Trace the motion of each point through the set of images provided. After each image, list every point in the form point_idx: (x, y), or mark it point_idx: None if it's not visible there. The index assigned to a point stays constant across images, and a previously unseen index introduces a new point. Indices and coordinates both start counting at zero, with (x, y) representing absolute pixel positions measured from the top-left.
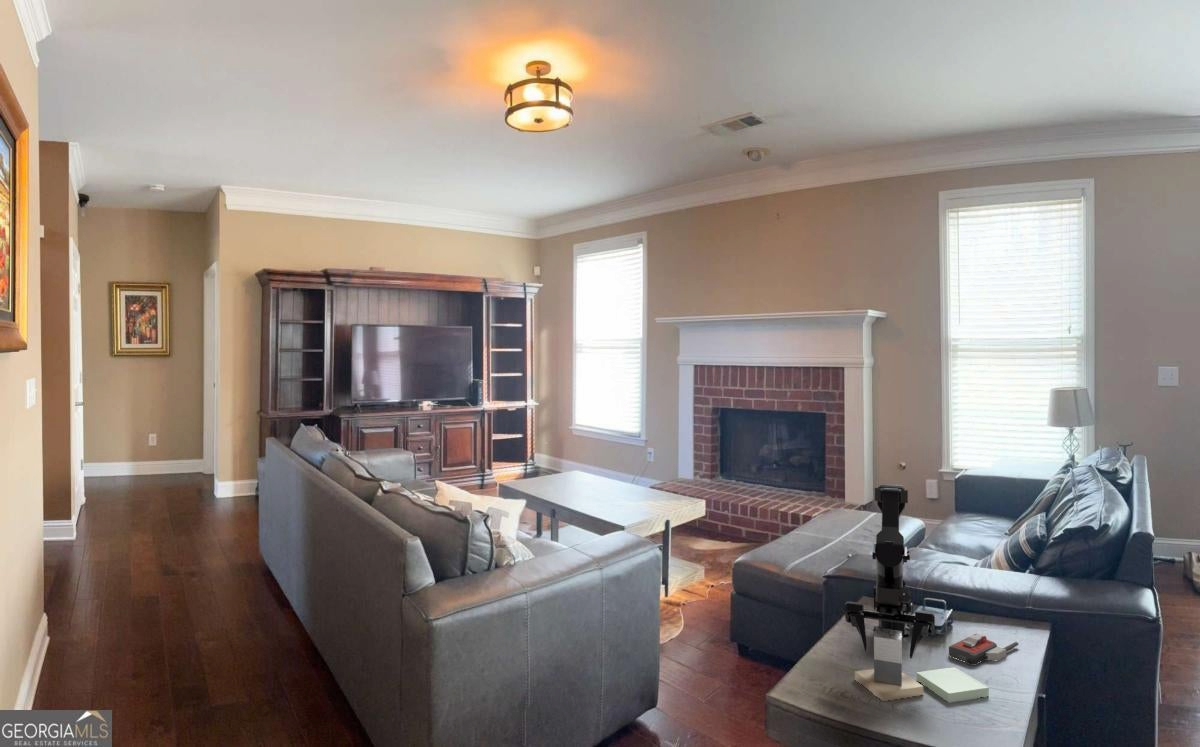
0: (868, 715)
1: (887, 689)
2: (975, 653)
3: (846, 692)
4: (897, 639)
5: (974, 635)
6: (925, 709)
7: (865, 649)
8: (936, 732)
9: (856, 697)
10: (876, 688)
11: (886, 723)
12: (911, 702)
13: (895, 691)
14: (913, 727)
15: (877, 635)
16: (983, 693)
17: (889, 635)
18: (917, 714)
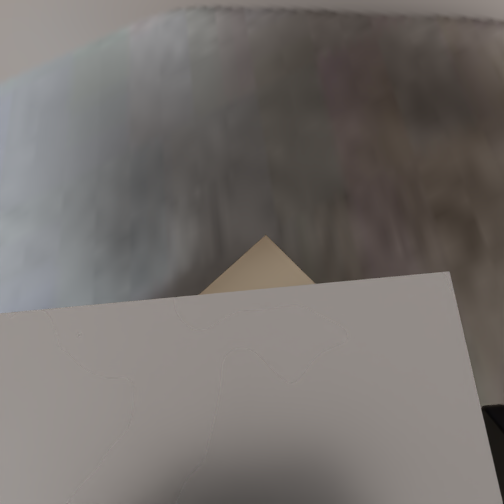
0: (305, 99)
1: (245, 282)
2: None
3: (455, 263)
4: (44, 337)
5: None
6: (67, 272)
7: (491, 406)
8: (37, 98)
9: (394, 234)
10: (307, 277)
11: (227, 73)
12: None
13: (202, 292)
14: (123, 93)
15: (406, 356)
16: None
17: (191, 476)
18: (105, 206)
